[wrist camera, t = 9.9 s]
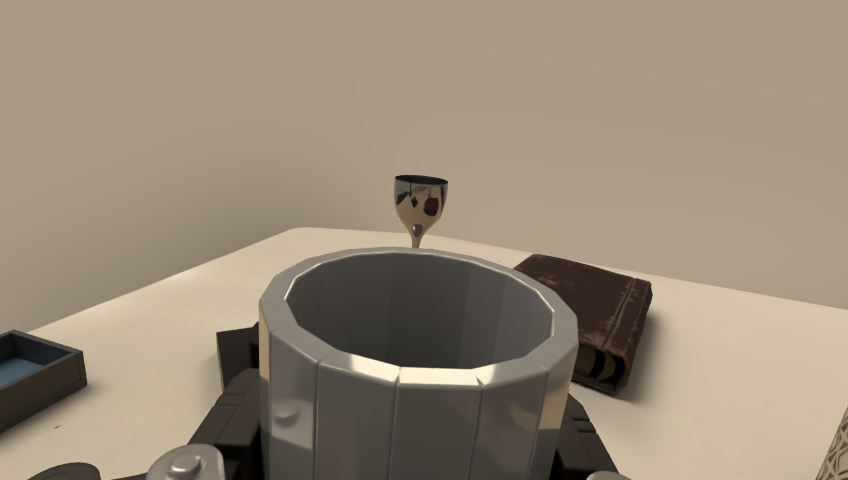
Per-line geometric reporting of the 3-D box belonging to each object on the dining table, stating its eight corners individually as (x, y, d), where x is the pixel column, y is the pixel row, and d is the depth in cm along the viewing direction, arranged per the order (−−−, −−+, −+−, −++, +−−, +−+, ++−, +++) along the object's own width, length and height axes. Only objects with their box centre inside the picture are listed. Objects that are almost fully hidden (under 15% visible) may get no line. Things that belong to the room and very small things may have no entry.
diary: (648, 313, 63) (656, 280, 61) (623, 401, 42) (635, 355, 41) (523, 278, 72) (528, 249, 70) (452, 337, 51) (457, 298, 50)
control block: (225, 414, 36) (223, 371, 35) (217, 351, 44) (215, 315, 43) (364, 383, 41) (366, 345, 40) (333, 332, 50) (334, 300, 49)
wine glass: (380, 267, 71) (386, 174, 67) (423, 263, 75) (432, 175, 70) (401, 286, 64) (409, 184, 60) (447, 280, 68) (458, 184, 64)
